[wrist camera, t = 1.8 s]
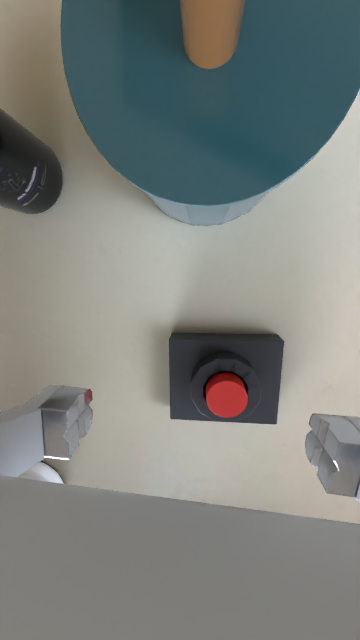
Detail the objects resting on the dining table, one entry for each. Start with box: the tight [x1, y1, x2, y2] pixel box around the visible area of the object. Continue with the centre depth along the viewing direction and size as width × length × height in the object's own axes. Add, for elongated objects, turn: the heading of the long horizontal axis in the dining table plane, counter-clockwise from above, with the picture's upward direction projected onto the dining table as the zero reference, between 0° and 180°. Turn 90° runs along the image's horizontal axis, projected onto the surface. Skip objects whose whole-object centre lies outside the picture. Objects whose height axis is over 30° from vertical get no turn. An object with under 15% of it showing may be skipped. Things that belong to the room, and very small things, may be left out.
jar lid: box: [61, 0, 360, 208], centre depth 10 cm, size 15×15×5 cm
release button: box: [206, 372, 248, 418], centre depth 23 cm, size 4×4×2 cm
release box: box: [169, 333, 284, 424], centre depth 25 cm, size 11×9×4 cm
